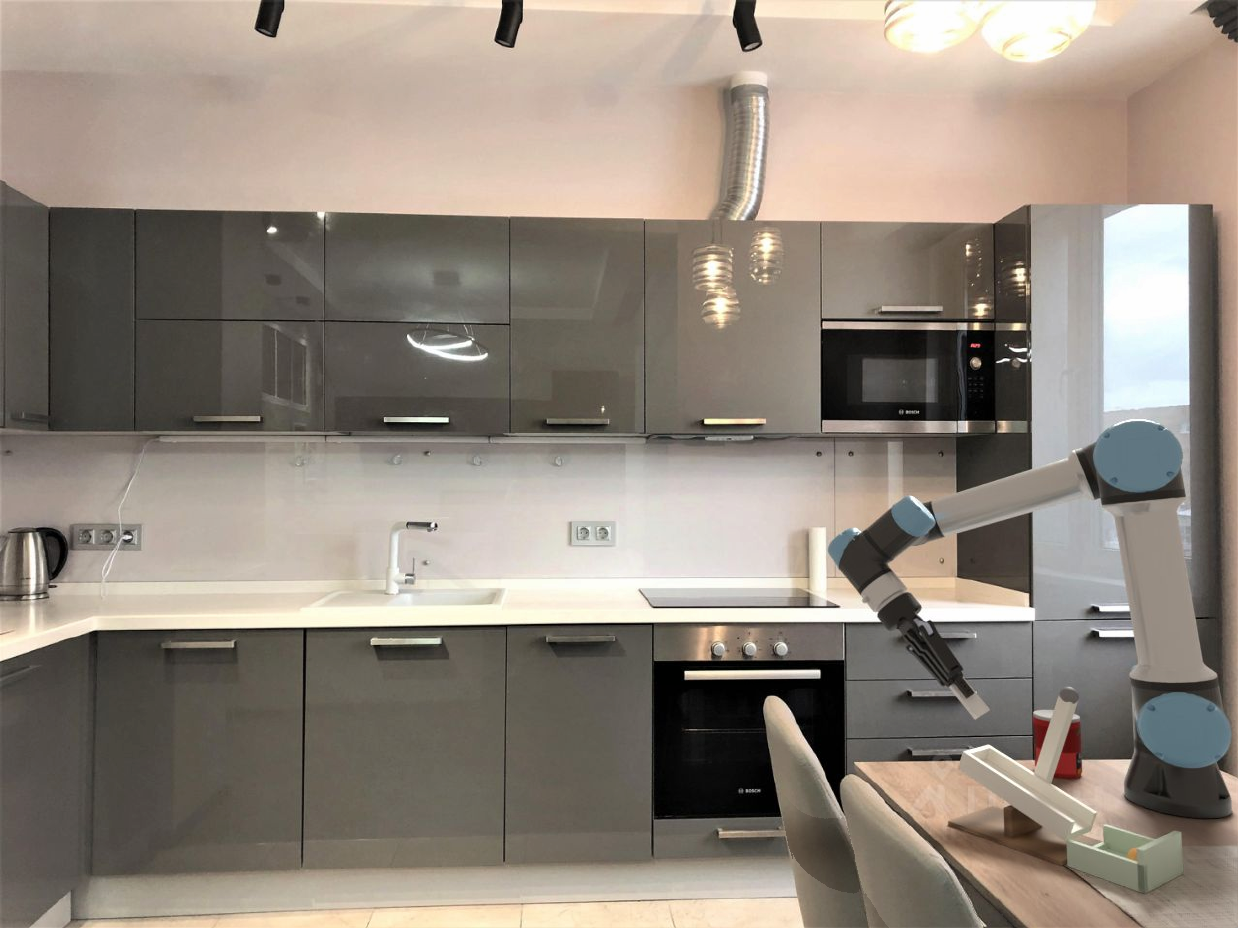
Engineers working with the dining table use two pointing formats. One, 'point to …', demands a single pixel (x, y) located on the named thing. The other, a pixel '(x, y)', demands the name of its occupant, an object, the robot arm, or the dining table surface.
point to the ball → (1132, 854)
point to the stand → (1018, 832)
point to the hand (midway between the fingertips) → (982, 714)
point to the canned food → (1071, 751)
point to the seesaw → (1035, 777)
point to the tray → (1111, 862)
